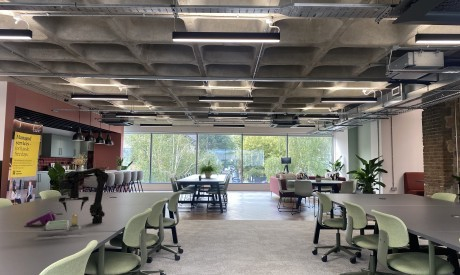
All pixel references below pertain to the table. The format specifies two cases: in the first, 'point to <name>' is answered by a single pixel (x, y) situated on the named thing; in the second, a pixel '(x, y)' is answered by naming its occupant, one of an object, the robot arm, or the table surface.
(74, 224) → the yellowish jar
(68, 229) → the socket block
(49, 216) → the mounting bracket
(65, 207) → the robot arm
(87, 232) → the table surface
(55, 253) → the table surface
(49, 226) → the bin
